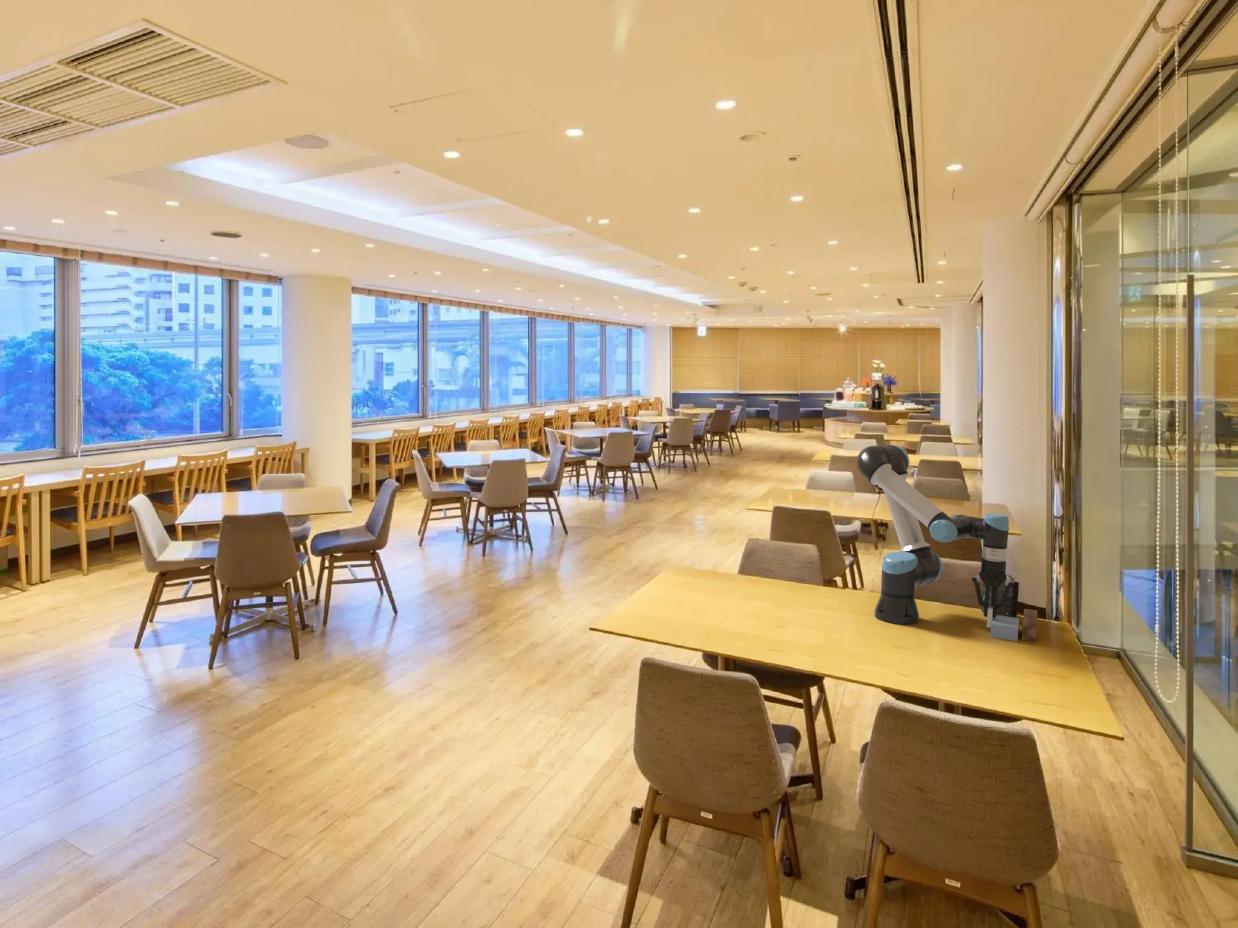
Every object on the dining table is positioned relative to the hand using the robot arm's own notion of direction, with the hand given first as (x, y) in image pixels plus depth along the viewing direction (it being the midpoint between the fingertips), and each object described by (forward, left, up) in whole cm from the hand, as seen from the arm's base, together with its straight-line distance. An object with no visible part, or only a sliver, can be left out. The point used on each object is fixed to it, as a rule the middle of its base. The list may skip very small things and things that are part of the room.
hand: (989, 626), depth 252 cm
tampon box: (+2, +23, -2) cm, 23 cm away
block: (+5, 0, -2) cm, 5 cm away
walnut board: (+12, +6, -2) cm, 14 cm away
